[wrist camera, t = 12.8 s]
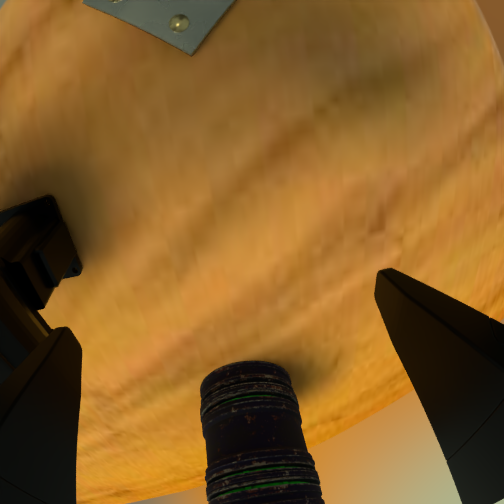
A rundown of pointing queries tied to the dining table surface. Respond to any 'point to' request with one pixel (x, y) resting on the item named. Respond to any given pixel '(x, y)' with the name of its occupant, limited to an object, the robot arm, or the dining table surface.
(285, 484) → the storage jar
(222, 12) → the fixed hinge leaf
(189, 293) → the dining table surface
